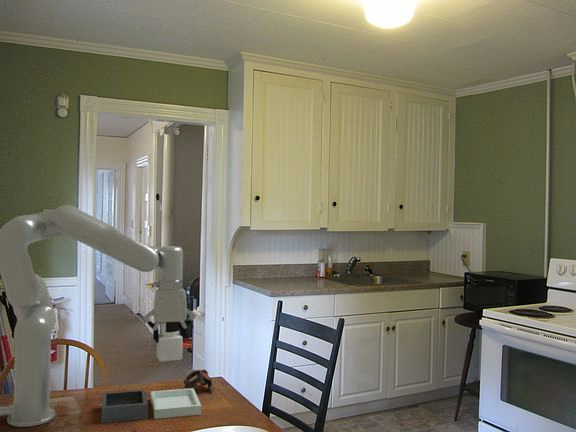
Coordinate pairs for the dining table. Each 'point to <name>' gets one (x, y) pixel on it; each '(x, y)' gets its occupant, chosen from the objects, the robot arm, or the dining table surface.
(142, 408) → the holder
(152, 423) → the dining table surface
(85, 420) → the dining table surface
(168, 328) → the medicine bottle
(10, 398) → the dining table surface
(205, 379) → the broken pottery ring
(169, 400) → the tray
